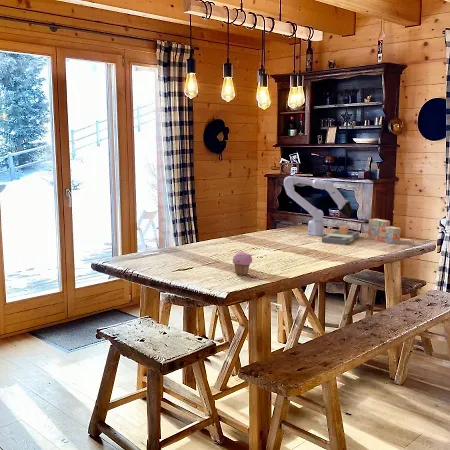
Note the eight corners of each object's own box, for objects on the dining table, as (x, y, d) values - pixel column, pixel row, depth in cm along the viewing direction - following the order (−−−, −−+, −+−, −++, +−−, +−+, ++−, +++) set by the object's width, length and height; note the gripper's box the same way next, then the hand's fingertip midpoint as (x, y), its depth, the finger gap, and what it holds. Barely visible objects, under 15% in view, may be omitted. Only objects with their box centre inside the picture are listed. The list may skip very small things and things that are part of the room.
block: (338, 233, 332) (339, 226, 331) (340, 232, 336) (341, 225, 335) (346, 234, 330) (346, 227, 329) (348, 233, 334) (348, 226, 333)
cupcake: (235, 271, 245) (235, 249, 244) (253, 272, 243) (254, 251, 241) (229, 275, 237) (230, 253, 235) (249, 277, 235) (249, 254, 233)
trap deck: (321, 242, 319) (322, 237, 318) (337, 234, 346) (337, 230, 345) (345, 244, 312) (345, 239, 312) (359, 236, 339) (359, 232, 339)
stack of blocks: (400, 243, 320) (401, 223, 318) (392, 244, 317) (393, 223, 315) (375, 237, 339) (376, 218, 337) (367, 238, 336) (368, 218, 334)
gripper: (340, 197, 330) (353, 214, 330) (345, 191, 343) (358, 208, 343) (331, 203, 334) (344, 220, 334) (336, 197, 346) (349, 214, 346)
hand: (350, 214), depth 338 cm, fingers open, 7 cm apart
